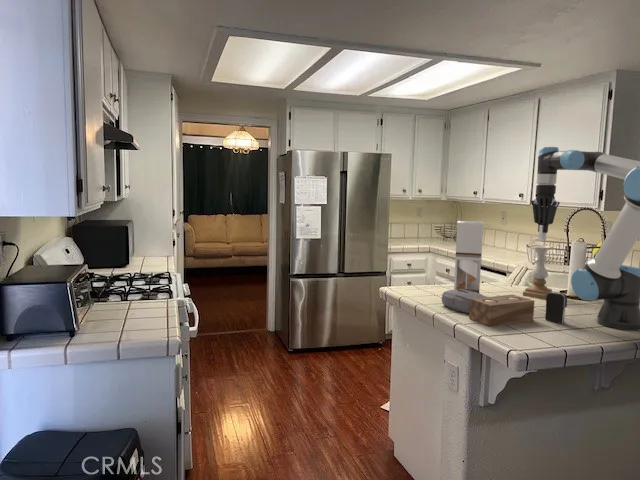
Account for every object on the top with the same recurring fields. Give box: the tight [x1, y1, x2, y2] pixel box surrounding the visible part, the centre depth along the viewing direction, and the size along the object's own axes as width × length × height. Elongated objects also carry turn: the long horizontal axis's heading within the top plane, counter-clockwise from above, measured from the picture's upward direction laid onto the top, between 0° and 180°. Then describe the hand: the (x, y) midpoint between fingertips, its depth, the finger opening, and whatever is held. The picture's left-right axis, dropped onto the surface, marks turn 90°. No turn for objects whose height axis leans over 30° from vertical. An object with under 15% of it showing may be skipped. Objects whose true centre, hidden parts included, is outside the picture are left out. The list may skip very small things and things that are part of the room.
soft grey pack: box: [441, 288, 486, 314], centre depth 204 cm, size 15×8×20 cm
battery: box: [544, 291, 568, 324], centre depth 188 cm, size 7×4×11 cm, turn 37°
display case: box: [453, 220, 484, 294], centre depth 227 cm, size 11×11×35 cm
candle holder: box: [522, 244, 554, 300], centre depth 230 cm, size 11×11×24 cm
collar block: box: [468, 294, 535, 327], centre depth 188 cm, size 11×22×8 cm, turn 113°
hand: (542, 240), depth 205 cm, fingers closed
